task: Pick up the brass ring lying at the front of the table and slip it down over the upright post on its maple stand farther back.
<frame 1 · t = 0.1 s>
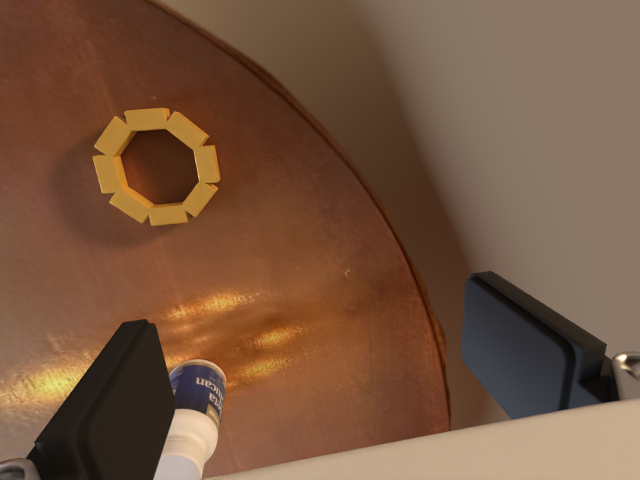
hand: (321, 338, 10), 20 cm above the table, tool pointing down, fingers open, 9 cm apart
ring: (162, 167, 27), on the table
pill bottle: (198, 379, 34), on the table
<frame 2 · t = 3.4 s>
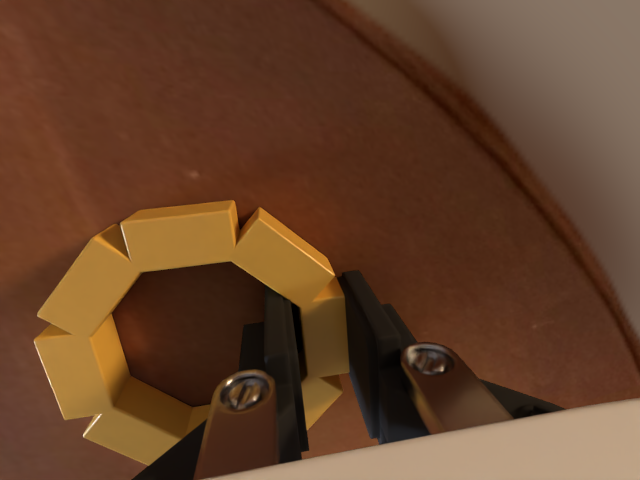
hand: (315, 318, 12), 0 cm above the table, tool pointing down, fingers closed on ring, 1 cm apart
ring: (213, 331, 11), on the table, touching gripper
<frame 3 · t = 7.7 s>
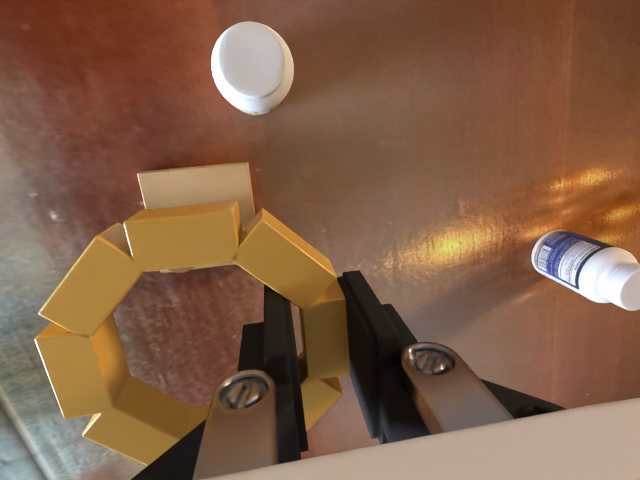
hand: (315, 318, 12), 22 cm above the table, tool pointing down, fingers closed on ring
ring: (213, 331, 11), point 22 cm above the table, touching gripper
pill bottle: (550, 250, 39), on the table
supplement bottle: (255, 81, 29), on the table
post: (205, 216, 32), on the table
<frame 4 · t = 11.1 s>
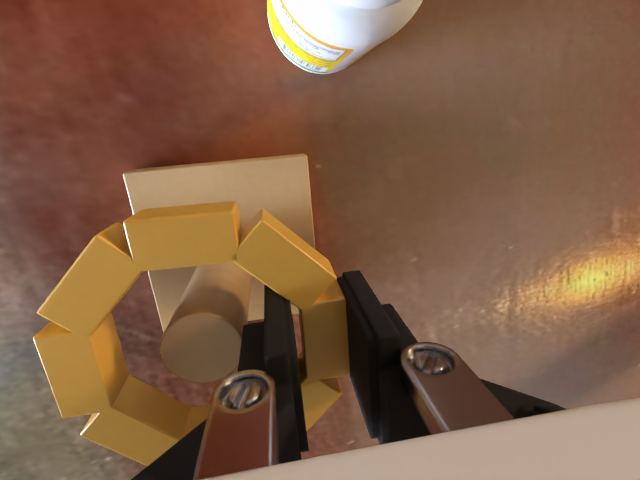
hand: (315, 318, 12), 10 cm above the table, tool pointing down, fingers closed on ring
ring: (212, 331, 11), point 9 cm above the table, touching gripper
supplement bottle: (321, 17, 18), on the table
post: (234, 240, 20), on the table
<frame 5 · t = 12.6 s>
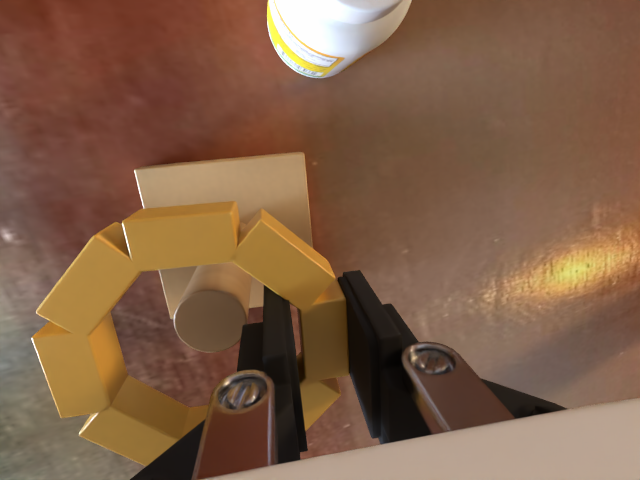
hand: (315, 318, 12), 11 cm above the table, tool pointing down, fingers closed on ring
ring: (211, 331, 11), point 11 cm above the table, touching gripper
supplement bottle: (317, 25, 19), on the table
post: (236, 232, 22), on the table
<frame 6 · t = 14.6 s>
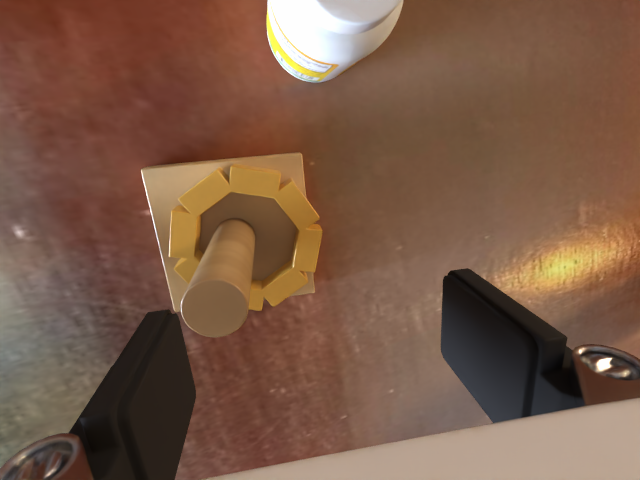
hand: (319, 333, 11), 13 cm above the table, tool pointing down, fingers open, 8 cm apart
ring: (248, 236, 21), point 1 cm above the table, touching post
supplement bottle: (314, 32, 20), on the table
post: (237, 229, 23), on the table
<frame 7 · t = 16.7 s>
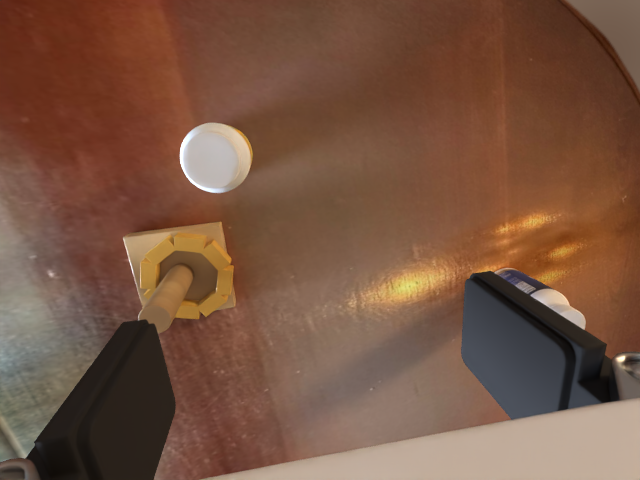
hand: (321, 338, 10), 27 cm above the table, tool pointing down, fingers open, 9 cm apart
ring: (189, 273, 35), point 1 cm above the table, touching post
pill bottle: (501, 286, 43), on the table
supplement bottle: (225, 153, 34), on the table
post: (185, 268, 36), on the table
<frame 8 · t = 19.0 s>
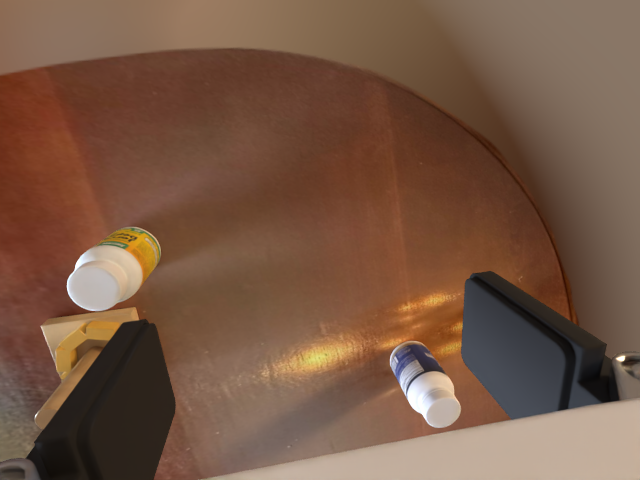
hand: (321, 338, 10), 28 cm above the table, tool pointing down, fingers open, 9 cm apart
ring: (105, 355, 38), point 1 cm above the table, touching post
pill bottle: (407, 355, 46), on the table
supplement bottle: (136, 249, 37), on the table
post: (104, 347, 40), on the table
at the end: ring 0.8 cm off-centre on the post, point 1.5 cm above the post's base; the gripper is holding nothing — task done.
